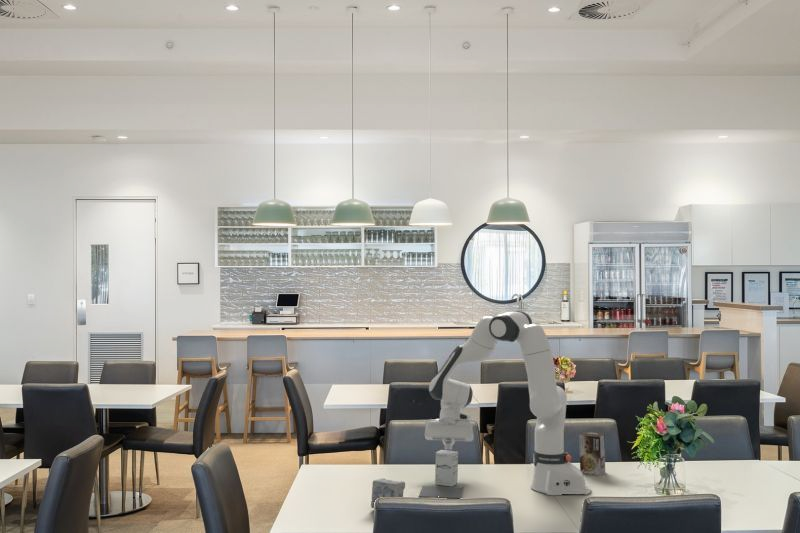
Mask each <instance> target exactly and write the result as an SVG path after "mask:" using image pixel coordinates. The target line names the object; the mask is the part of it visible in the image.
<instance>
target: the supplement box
mask: <svg viewBox="0 0 800 533" xmlns="http://www.w3.org/2000/svg"><path fill="white" fill-rule="evenodd" d="M434 464H435V472H434V473H435V475H434V480H435V481H434V483H435V484H434V485H435V486H442V487H455V485H457V484H458V479H459V478H458V474H459V473H458V472H459V451H457V450H449V449H440V450H438V451H436V452H435V463H434Z"/></svg>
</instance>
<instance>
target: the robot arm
mask: <svg viewBox="0 0 800 533" xmlns="http://www.w3.org/2000/svg"><path fill="white" fill-rule="evenodd" d="M499 341H501V342H502V341H503V342H510V343H514V342H517V343H518V344H519V346H520V349H521V354H522V358H523V361H524V362H523V363H524V366H525V370H526V376H527V384H528V394H529V410H530V412H531V413H532V414H533V415H534V416H535V417H536V423H535V427H534V450H533V454H532V456H533V458H532V459H533V466H534V468H533V469H534V470H533V475H532V476H533V477H532V482H531V485H530V488H531V489H532V490H534V491H536V492H539V493H543V494H546V495H548V496H563V495H562V494H585V495H590V494H591V493H592V488H591V485H590V484H589V483H587V482H586V481H585V476H584V473H582V472H581V471H580V468H578V467H576V466H575V464H573V463H571V461H572V456H571V455H570V453H568V452H567V451H566V450H565V441H564V440H565V439H564V438H565V434H564V432H565V422H566V412H567V401H568V397H567V393H566V391H565V389H563V387H561V386H559V385H557V379H556V366H555V361H554V357H553V354H552V349H551V347H550V346H551V345H550V342H549V340H548V337H547V334H546V332H545V330H544V328H543V327H542V325H539V324H537V323H536V324H535V323H533V321H532V318H531V316H530V315H529V314H528V313H526V312H524V311H519V310H515V311H507V312H506V311H505V312H503V313H499V314H496V315H495V316H491V315H484V316H483V317H481V318H480V319H479V321H478V322H477V324H476V325H475V326H474V328H473V330H472V332H471V334H470V336H469V338H468V339H467V341H464V343H463V344H459V345H457V346H456V347H455V348H454V349H453V350H452V352H451V353H450V355H449V356H448V357H447V359H446V361H445V362H444V364H443V365H442V366H441V368H440V369H439V371H438V372H437V373H436V375H434V377H432V379H431V381H430V383H429V386H428V392H429V395H430V396H431V398H432V399H434V400H437V401H438V400H439V401H440V408H441V409H440V411H439V418H436V419H432V418H430V419H427V420H426V421H425V423H424V427H425V429H424V438H425V440H427V441H442V444H443V445H444V450H453V446H454V445H455V442H472V441H473V440H474V429H473V424H472V421H471V420H472V419H471V416H470V415H468V414H466V413H465V414H464V413H462V412H461V410H462V409H466V407H467V406H469V405H470V404H471V403H472V400H473V394H474V393H473V389H472V386H471V385H470V384H468V383H466V382H462V381H461V380H460V381H459V380H455V379H452V378H450V377H451V375H452V374H453V372H454V371H455V369H456V368H457V367H458V366H460V365H462V364H465V363H480V362H485V361H486V360H488V359H489V358H491V356H492V354H493V352H494V350H495V349H496V347H497V344H498V342H499ZM447 441H448V442H450V443H447Z"/></svg>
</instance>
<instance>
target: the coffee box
mask: <svg viewBox="0 0 800 533" xmlns="http://www.w3.org/2000/svg"><path fill="white" fill-rule="evenodd" d="M578 437H579V439H578V440H579V470H580V471H581V472H582V473H583V474H585V473H589V474H588V475H592V474H595V475H594V476H603V475H604V474H605V473H606V445H605V444H606V441H605V440H606V439H605V438H606V437H605V433H601V432H600V433H599V432H591V431H590V432H589V431H583V432H581V433H580V434H579V435H578Z"/></svg>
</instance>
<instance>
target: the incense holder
mask: <svg viewBox="0 0 800 533" xmlns="http://www.w3.org/2000/svg"><path fill="white" fill-rule="evenodd" d="M371 487H372V488H371V501H370V503H371V504H370V507H371V508H372V509H375V508H374V502H375V500H376V499H377V498H380V497H403V498H404V490H405V488H406V482H405V481H402V480H401V481H397V480H396V481H395V480H391V479H390V480H389V479H386V478H382V477H381V478H379V479H378V478H377V479H373V480H372V486H371Z"/></svg>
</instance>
